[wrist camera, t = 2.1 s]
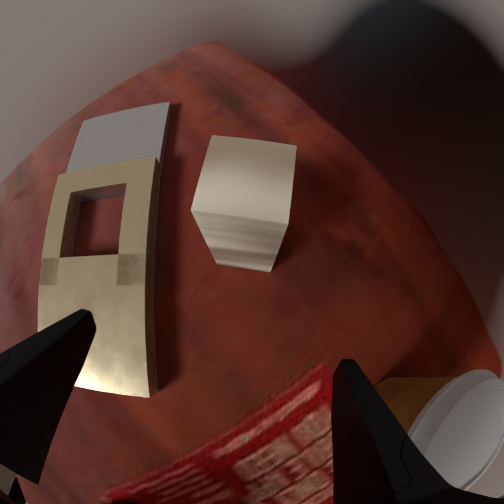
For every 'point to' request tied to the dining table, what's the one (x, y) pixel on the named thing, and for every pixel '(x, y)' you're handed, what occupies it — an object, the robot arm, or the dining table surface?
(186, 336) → the dining table surface
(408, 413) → the disposable coffee cup
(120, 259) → the plate with square hole
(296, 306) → the dining table surface
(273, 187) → the maple pin
